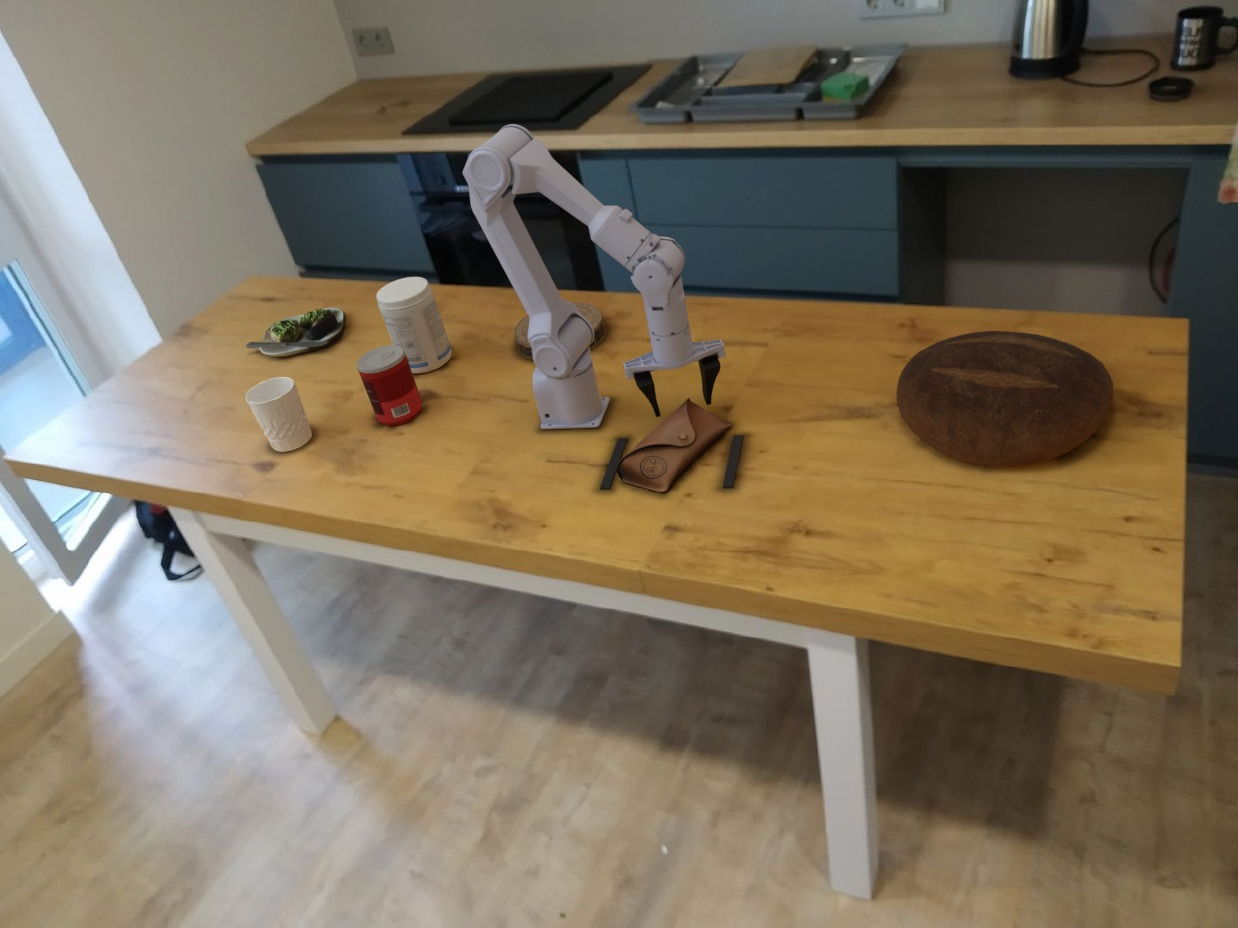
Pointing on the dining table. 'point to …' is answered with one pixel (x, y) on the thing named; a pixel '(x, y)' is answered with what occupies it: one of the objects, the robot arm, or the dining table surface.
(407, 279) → the supplement tub
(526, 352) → the tan round flat disc
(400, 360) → the canned food
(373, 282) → the dining table surface
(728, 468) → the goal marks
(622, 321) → the dining table surface
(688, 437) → the sunglasses case
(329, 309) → the salad plate
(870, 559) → the dining table surface
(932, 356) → the bread
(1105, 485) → the dining table surface
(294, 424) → the white cup
